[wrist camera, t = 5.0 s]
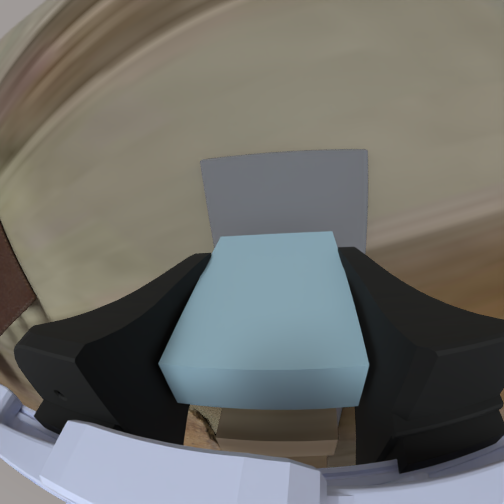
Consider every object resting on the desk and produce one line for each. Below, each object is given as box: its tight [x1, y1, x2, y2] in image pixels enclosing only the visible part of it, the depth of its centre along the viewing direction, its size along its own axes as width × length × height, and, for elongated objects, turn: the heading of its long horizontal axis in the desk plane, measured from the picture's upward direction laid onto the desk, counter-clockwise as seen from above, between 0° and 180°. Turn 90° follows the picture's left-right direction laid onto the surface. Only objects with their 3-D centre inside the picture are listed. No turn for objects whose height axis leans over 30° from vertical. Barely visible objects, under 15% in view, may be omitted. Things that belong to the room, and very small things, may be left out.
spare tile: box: [158, 231, 369, 410], centre depth 9 cm, size 2×5×7 cm, turn 96°
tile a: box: [215, 407, 338, 457], centre depth 13 cm, size 2×5×7 cm, turn 96°
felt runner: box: [200, 149, 368, 425], centre depth 17 cm, size 7×26×1 cm, turn 6°
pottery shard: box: [184, 407, 222, 451], centre depth 24 cm, size 8×16×2 cm, turn 157°
